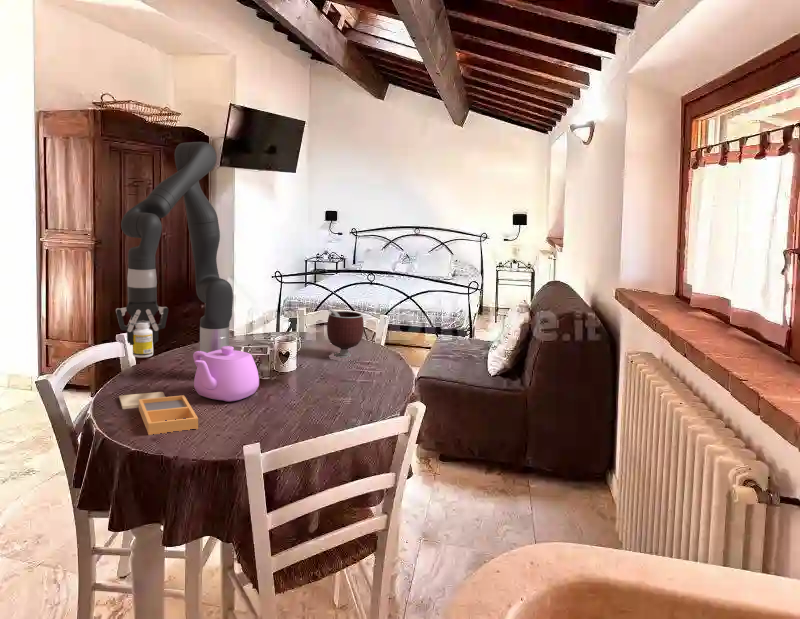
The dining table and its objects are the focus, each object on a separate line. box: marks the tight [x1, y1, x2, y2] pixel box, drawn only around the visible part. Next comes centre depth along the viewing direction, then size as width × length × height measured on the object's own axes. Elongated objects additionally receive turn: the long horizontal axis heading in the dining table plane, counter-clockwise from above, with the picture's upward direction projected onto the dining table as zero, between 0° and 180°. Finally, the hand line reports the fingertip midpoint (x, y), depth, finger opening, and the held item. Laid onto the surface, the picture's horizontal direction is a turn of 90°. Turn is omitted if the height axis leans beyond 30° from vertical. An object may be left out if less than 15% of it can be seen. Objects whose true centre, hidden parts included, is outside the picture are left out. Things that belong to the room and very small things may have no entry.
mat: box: [118, 391, 166, 410], centre depth 183 cm, size 12×10×1 cm
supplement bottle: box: [132, 320, 154, 358], centre depth 180 cm, size 5×5×10 cm
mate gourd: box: [326, 308, 365, 358], centre depth 243 cm, size 16×14×20 cm
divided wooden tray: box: [138, 394, 199, 436], centre depth 170 cm, size 12×20×3 cm, turn 29°
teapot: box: [192, 345, 260, 403], centre depth 189 cm, size 23×21×15 cm
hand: (142, 343), depth 180 cm, fingers closed on supplement bottle, 5 cm apart
